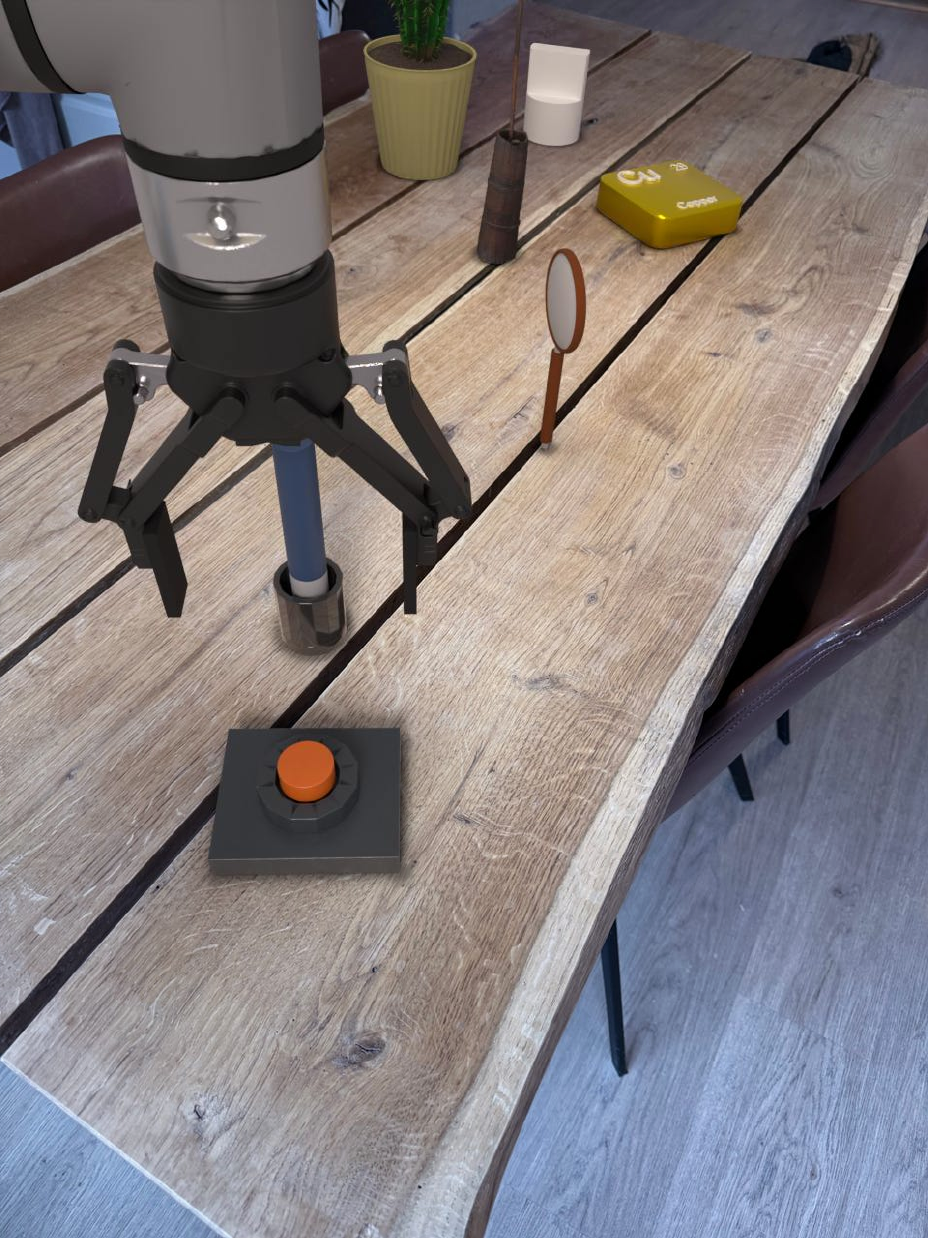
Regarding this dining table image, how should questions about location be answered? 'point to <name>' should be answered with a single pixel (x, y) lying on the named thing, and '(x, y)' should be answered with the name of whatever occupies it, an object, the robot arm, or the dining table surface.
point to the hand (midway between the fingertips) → (295, 599)
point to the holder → (311, 613)
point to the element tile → (668, 204)
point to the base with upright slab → (555, 94)
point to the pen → (301, 518)
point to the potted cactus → (419, 91)
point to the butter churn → (505, 183)
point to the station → (308, 806)
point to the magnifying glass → (562, 326)
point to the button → (306, 771)
